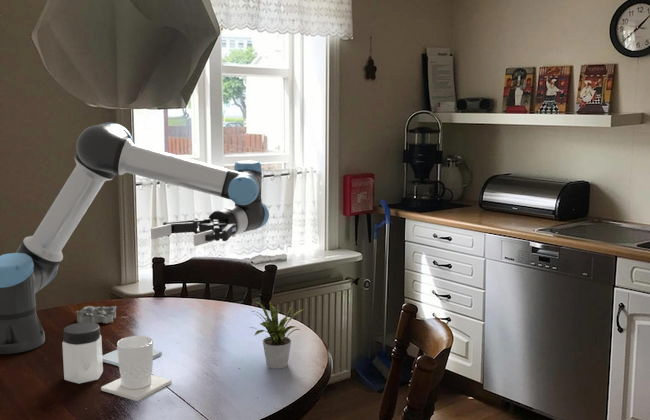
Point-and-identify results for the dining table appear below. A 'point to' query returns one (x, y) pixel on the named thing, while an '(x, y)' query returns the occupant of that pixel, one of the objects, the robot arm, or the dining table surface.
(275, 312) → the house plant
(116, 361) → the light grey square tile
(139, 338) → the white cup
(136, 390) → the tile shorter
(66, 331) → the jar
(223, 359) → the dining table surface
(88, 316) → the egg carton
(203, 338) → the dining table surface
